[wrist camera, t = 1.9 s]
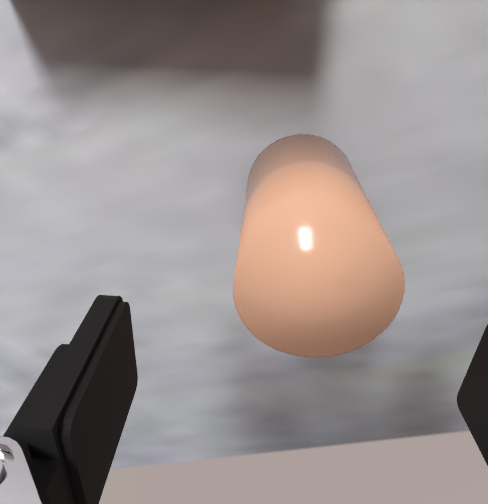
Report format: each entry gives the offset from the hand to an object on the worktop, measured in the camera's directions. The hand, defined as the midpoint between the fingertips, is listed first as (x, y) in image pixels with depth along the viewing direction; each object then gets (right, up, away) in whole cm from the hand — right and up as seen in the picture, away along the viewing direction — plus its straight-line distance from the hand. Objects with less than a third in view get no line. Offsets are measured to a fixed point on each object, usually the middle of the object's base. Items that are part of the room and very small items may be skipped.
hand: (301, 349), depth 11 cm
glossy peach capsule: (+1, +6, +10) cm, 11 cm away
